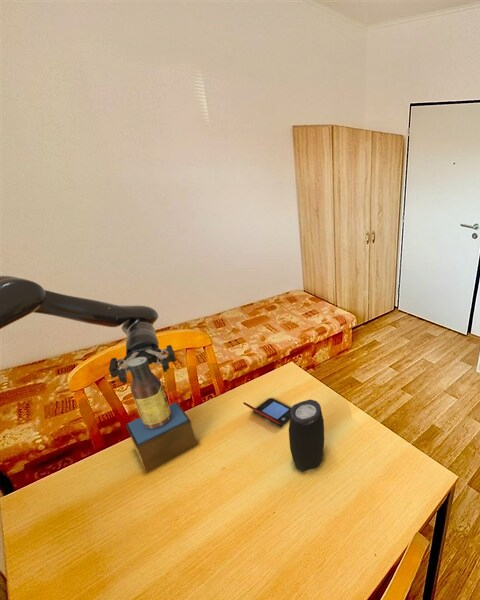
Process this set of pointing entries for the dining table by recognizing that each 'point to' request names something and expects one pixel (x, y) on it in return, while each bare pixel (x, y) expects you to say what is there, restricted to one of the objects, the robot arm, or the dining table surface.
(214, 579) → the dining table surface
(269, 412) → the handheld console
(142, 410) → the sauce bottle
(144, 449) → the blue topped brown block
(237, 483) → the dining table surface
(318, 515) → the dining table surface
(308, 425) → the portable speaker
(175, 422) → the mat
